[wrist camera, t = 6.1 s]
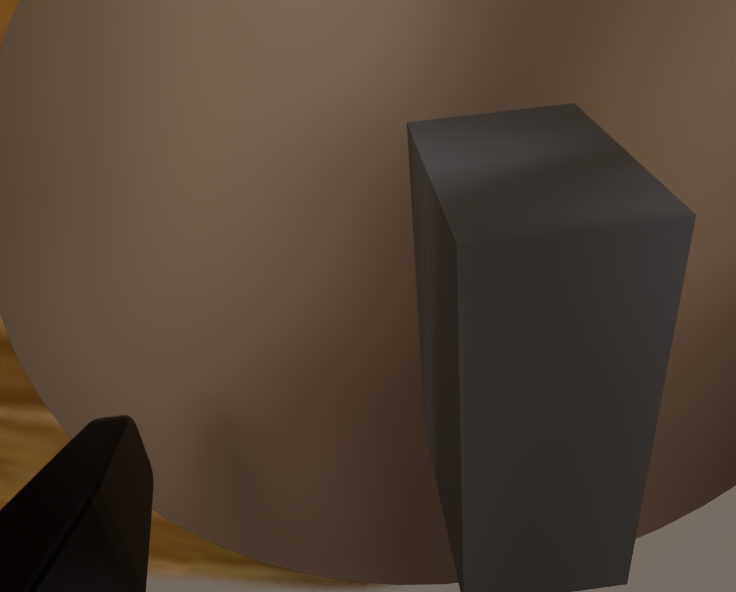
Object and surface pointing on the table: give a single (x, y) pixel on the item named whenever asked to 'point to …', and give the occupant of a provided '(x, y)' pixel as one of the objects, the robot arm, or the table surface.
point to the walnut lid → (385, 270)
